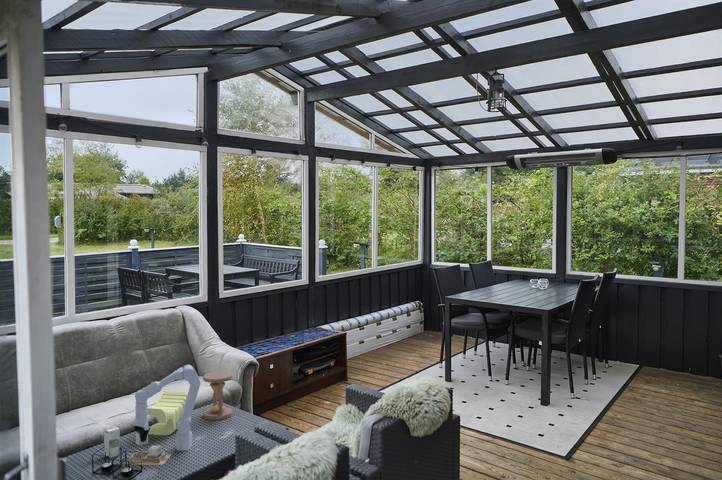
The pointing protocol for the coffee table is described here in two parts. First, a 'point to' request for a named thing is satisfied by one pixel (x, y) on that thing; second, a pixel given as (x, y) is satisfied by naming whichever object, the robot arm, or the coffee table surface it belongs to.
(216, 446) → the coffee table surface
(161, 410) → the slatted curved stool
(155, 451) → the billet
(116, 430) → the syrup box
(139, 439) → the billet
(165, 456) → the pallet
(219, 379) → the hourglass
